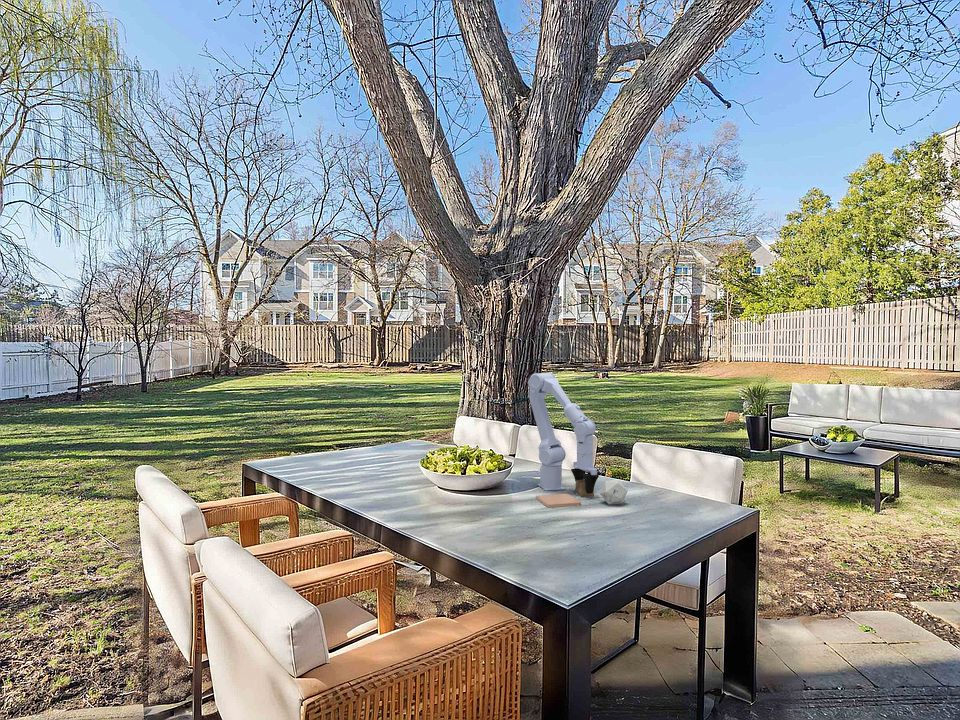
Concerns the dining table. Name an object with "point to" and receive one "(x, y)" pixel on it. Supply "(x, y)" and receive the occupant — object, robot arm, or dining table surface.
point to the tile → (558, 500)
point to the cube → (582, 489)
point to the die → (613, 492)
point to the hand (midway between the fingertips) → (584, 490)
